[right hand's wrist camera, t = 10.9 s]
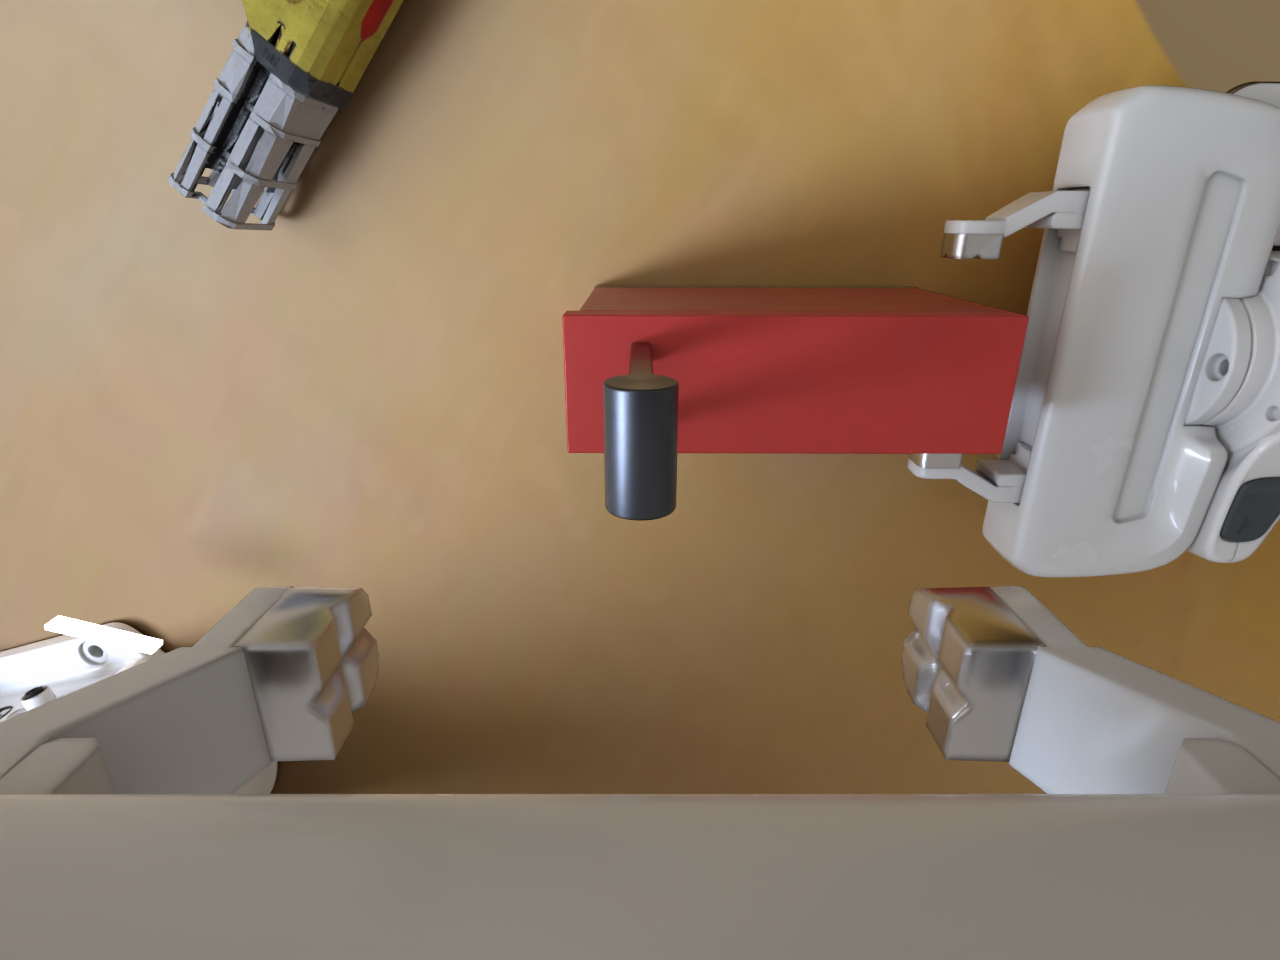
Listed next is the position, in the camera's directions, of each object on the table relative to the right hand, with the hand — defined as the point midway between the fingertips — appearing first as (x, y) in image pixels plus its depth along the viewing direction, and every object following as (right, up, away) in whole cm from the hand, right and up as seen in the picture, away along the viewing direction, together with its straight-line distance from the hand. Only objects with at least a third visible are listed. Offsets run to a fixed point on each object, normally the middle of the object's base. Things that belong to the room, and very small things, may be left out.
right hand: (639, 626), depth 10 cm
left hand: (+13, +8, +19) cm, 24 cm away
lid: (+5, +6, +15) cm, 17 cm away
